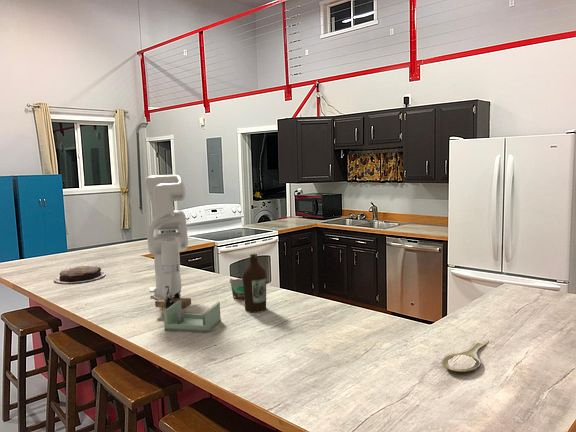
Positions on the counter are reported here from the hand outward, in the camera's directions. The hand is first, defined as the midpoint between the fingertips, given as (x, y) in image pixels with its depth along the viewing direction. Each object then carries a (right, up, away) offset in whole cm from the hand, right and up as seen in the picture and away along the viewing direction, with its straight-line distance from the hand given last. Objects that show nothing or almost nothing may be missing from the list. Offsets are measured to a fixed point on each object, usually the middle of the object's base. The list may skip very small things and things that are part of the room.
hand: (173, 307), depth 206 cm
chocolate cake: (-72, +3, +72) cm, 102 cm away
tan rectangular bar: (0, -3, 0) cm, 3 cm away
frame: (+11, -4, -14) cm, 19 cm away
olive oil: (+36, -2, +4) cm, 36 cm away
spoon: (+110, -7, -50) cm, 121 cm away
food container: (+29, 0, +21) cm, 36 cm away
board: (0, +1, 0) cm, 1 cm away
